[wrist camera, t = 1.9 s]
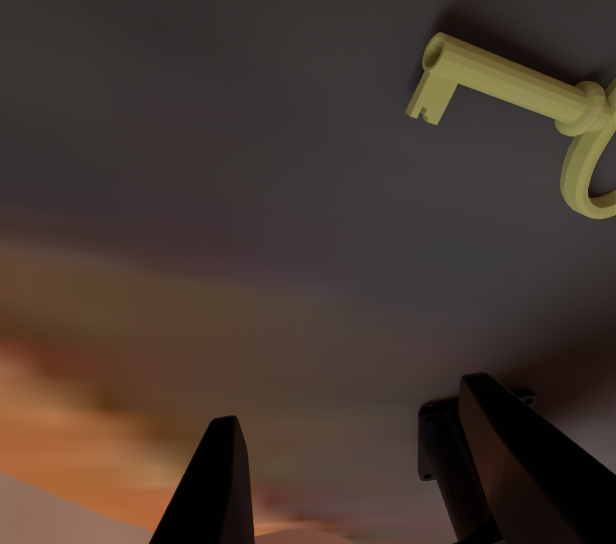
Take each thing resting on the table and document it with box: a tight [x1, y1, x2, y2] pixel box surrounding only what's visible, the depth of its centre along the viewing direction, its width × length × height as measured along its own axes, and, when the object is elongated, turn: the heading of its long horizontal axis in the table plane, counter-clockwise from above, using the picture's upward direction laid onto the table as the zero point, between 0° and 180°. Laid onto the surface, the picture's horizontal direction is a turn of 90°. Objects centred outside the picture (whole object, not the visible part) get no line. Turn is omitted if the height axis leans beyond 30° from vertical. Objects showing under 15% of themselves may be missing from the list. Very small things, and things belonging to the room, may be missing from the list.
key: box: [406, 33, 616, 219], centre depth 19 cm, size 7×12×2 cm, turn 88°
